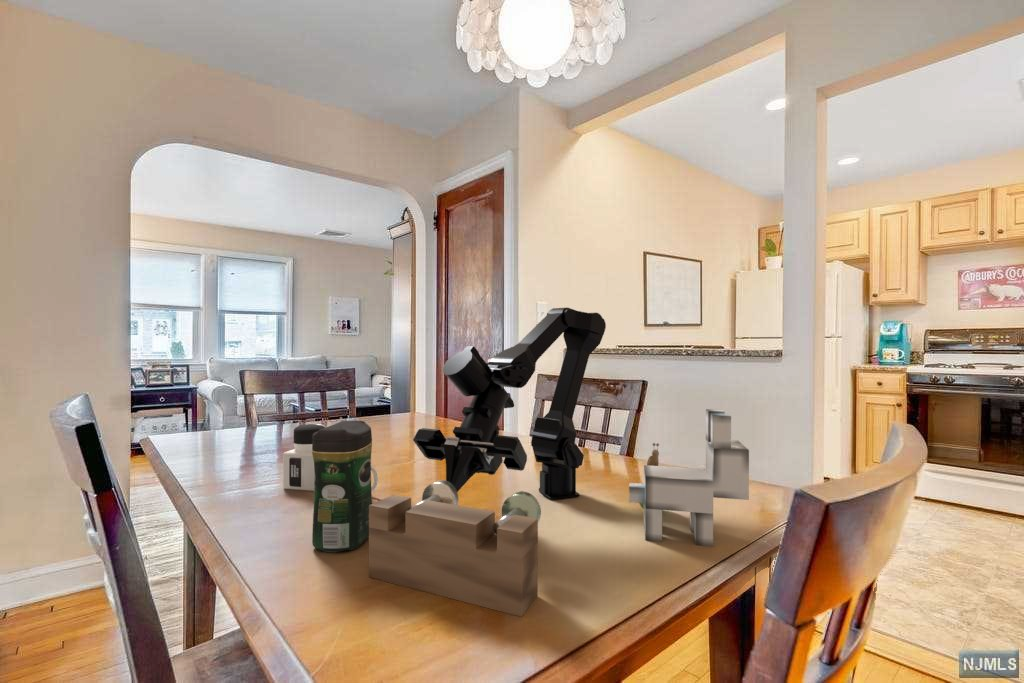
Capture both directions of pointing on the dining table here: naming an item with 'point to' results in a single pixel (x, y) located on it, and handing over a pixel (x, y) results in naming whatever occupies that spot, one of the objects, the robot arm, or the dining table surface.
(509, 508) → the knob sage
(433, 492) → the silver rounded piece
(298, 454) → the container
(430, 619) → the dining table surface
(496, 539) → the block
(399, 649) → the dining table surface
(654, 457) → the snail figurine
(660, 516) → the toy llama
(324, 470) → the coffee jar
